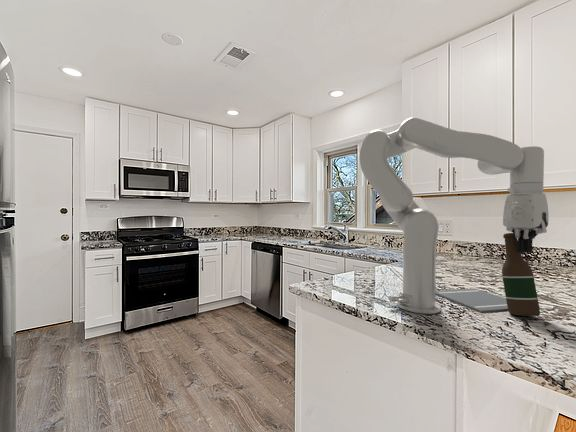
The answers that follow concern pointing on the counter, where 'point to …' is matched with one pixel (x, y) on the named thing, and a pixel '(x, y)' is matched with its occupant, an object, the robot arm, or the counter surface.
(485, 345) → the counter surface
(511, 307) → the beer bottle
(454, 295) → the mat
